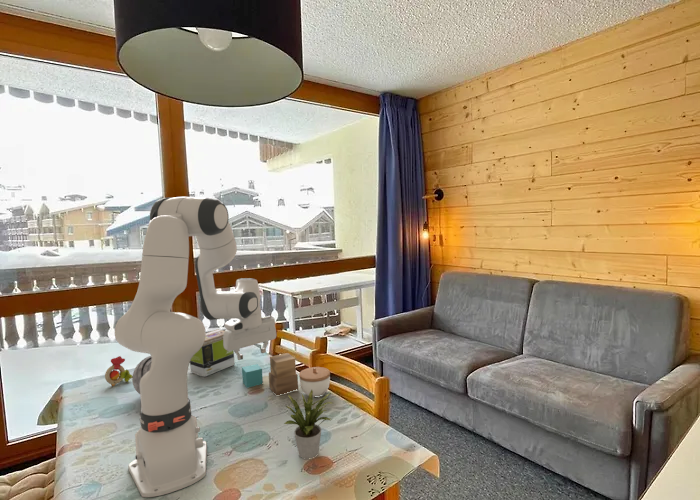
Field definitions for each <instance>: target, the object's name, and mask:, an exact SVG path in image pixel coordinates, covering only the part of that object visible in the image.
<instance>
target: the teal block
mask: <svg viewBox="0 0 700 500" xmlns="http://www.w3.org/2000/svg"><path fill="white" fill-rule="evenodd" d="M241 377H242V378H241V379H242V383H243V384H244V387H245V388H247V389H249V388H253V387H255V386H256V385H257V386H260V384H261V385H263V384H264V381H263V380H264V379H263V378H264V377H263V368H262V367H261V366H260V365H259V364H258V363H256V364H251V365H246V366H241ZM262 383H263V384H262Z"/></svg>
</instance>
